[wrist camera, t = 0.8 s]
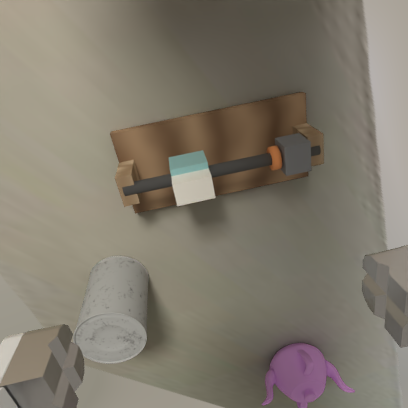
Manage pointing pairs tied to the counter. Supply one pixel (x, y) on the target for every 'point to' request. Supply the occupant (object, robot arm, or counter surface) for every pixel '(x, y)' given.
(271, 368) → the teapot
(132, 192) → the rail
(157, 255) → the counter surface
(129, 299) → the grey upright cylinder
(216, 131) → the rod slider board
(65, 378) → the robot arm
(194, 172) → the sleeve
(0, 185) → the counter surface
